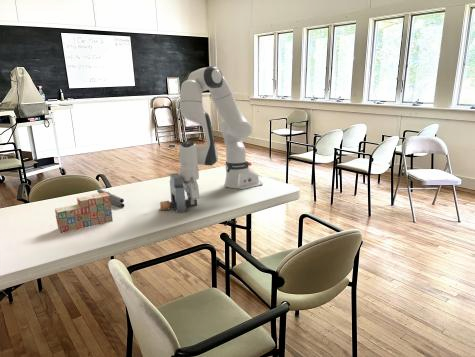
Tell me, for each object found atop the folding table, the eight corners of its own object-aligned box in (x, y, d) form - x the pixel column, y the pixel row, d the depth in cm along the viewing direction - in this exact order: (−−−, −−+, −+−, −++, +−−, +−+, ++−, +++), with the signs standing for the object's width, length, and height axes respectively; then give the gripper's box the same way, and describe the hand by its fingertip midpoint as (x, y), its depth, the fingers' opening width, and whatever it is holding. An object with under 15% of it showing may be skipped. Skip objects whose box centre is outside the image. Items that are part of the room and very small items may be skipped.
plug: (195, 203, 178) (195, 195, 177) (197, 206, 174) (197, 198, 173) (160, 208, 172) (159, 200, 171) (161, 211, 168) (161, 203, 167)
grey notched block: (179, 202, 180) (177, 171, 176) (185, 211, 167) (183, 179, 162) (171, 203, 179) (169, 172, 175) (177, 213, 165) (175, 180, 161)
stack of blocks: (60, 233, 145) (56, 205, 142) (57, 229, 150) (53, 201, 147) (113, 221, 157) (109, 195, 154) (109, 217, 162) (105, 191, 159)
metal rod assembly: (125, 207, 175) (124, 197, 174) (120, 208, 173) (119, 199, 172) (101, 196, 193) (100, 187, 191) (96, 197, 191) (95, 188, 189)
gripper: (201, 179, 163) (203, 208, 166) (191, 170, 181) (192, 195, 185) (188, 181, 160) (189, 210, 164) (178, 171, 179) (180, 197, 183)
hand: (191, 202), depth 175 cm, fingers open, 4 cm apart
